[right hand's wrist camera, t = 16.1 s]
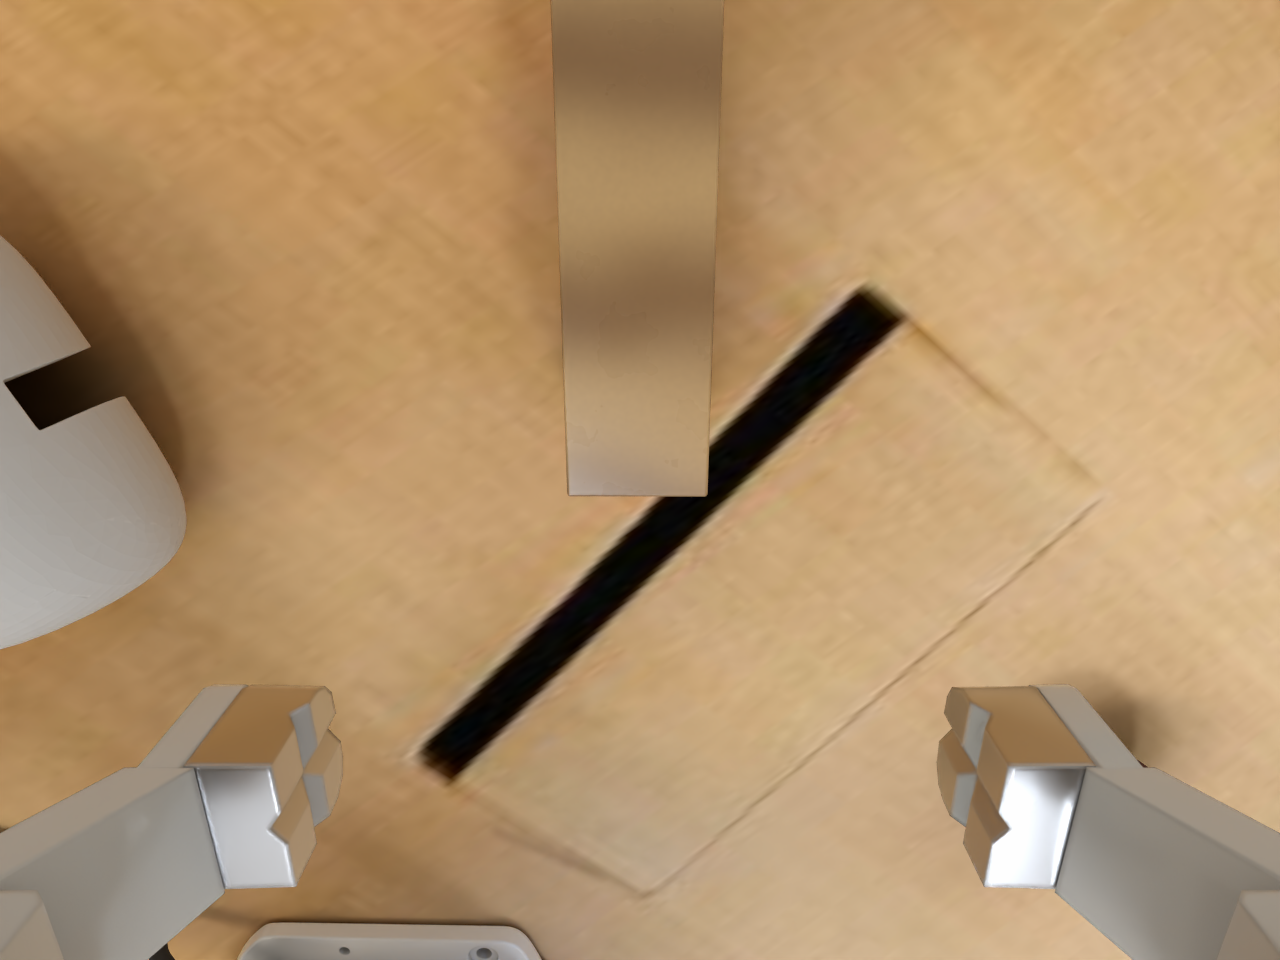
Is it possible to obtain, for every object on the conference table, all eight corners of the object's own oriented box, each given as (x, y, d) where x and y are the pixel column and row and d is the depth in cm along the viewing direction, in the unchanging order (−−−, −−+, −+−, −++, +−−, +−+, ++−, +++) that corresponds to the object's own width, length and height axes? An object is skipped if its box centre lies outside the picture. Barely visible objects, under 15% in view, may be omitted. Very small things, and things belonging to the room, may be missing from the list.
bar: (691, 420, 35) (707, 497, 27) (583, 420, 35) (567, 497, 27) (709, -278, 27) (740, -475, 18) (566, -279, 27) (533, -475, 18)
